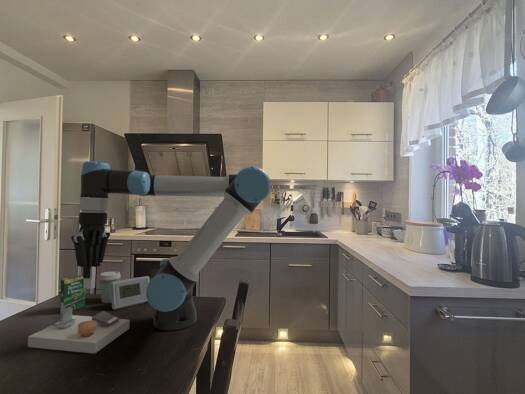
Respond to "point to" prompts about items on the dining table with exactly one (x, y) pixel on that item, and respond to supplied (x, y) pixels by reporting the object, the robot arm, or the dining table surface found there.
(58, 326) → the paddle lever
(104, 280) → the coffee cup
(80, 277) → the coffee box
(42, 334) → the panel
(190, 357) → the dining table surface
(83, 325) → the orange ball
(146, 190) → the robot arm
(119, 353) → the dining table surface
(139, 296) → the digital clock
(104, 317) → the grey flat block
